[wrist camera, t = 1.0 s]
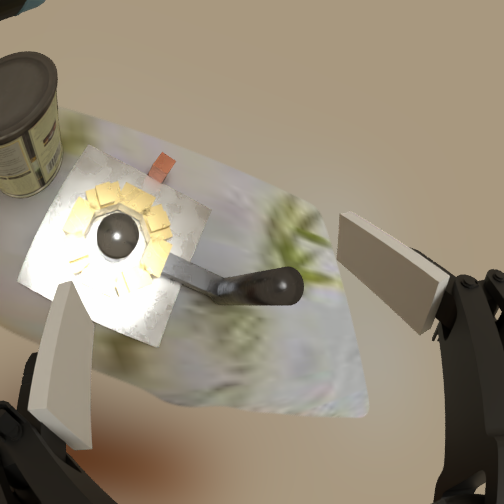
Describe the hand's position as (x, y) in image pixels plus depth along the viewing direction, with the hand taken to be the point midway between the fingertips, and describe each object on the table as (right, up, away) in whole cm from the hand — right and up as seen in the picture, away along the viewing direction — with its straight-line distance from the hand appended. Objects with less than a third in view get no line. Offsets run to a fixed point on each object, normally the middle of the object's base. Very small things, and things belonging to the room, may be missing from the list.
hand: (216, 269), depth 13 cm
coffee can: (-26, +12, +13) cm, 32 cm away
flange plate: (-14, +3, +18) cm, 23 cm away
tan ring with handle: (-9, 0, +18) cm, 21 cm away
